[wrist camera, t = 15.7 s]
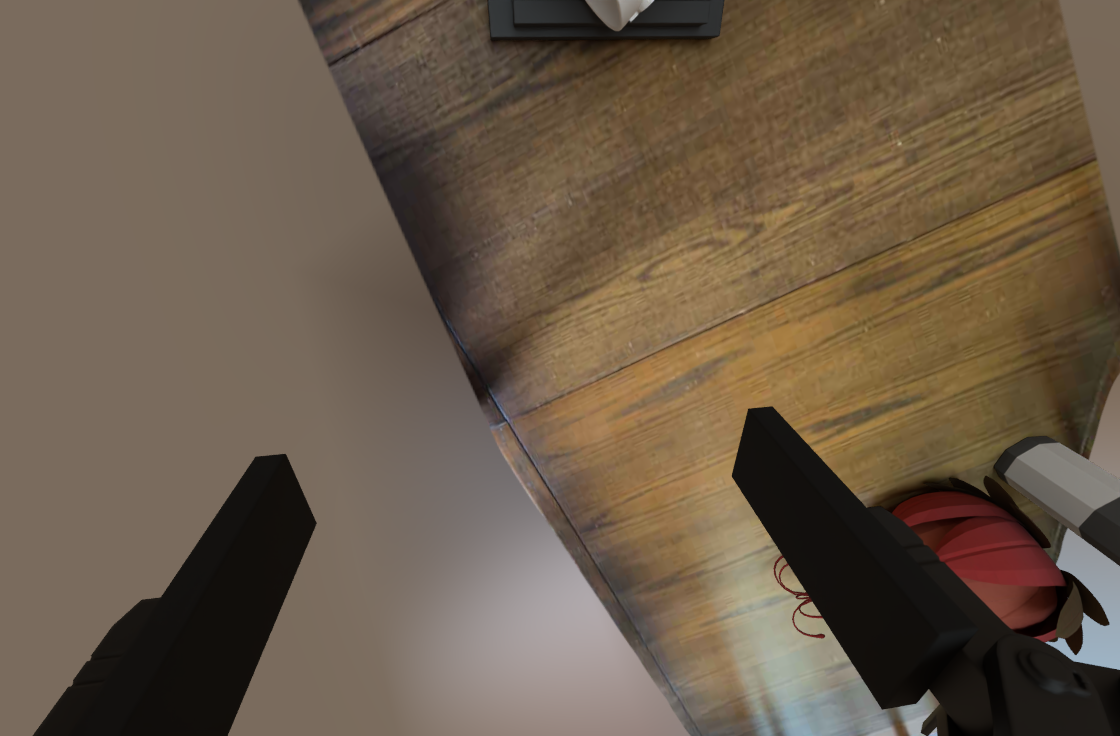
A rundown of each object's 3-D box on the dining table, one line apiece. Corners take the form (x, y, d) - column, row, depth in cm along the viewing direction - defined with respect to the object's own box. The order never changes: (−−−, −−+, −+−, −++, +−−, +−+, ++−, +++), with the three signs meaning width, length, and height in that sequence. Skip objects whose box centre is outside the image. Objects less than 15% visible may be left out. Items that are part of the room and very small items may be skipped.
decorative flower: (942, 455, 68) (744, 506, 73) (1097, 507, 45) (793, 575, 50) (989, 593, 67) (787, 634, 72) (1171, 717, 44) (856, 764, 49)
